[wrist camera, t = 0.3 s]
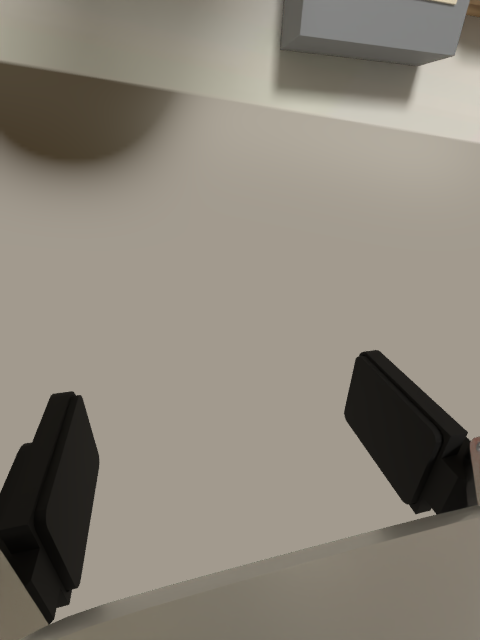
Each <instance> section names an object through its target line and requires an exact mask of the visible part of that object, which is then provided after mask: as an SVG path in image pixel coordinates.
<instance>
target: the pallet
mask: <svg viewBox="0 0 480 640" xmlns="http://www.w3.org/2000/svg"><path fill="white" fill-rule="evenodd" d="M466 15H470V16H476V17H480V0H470V2H469V5H468V9H467V12H466Z"/></svg>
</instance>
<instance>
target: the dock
mask: <svg viewBox="0 0 480 640" xmlns="http://www.w3.org/2000/svg"><path fill="white" fill-rule="evenodd" d="M469 2H470V0H284V8H283V21H282V33H281V46H280V49H281V50H290V51H298V52H306V53H315V54H323V55H331V56H340V57H348V58H356V59H364V60H373V61H381V62H389V63H398V64H406V65H414V66H420V65H423V64H427V63H430V62H434V61H438V60H441V59H445V58H448V57H452V56H454V55H455V52H456V48H457V45H458V41H459V37H460V34H461V30H462V27H463V23H464V20H465V16H466V12H467V9H468V5H469Z"/></svg>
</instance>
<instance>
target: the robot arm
mask: <svg viewBox="0 0 480 640" xmlns="http://www.w3.org/2000/svg"><path fill="white" fill-rule="evenodd" d="M344 414H345V418H346V421H347V422H348V424H349V425H350V427H351V428H352V429H353V431H354V432H355V434H356V435H357V437H358V438H359V439H360V441H361V442H362V444H363V445H364V447H365V448H366V450H367V451H368V452H369V454H370V455H371V457H372V458H373V460H374V461H375V462H376V464H377V465H378V467H379V468H380V470H381V471H382V472H383V474H384V475H385V477H386V478H387V480H388V481H389V482H390V484H391V485H392V487H393V488H394V490H395V491H396V492H397V494H398V495H399V497H400V498H401V500H402V501H403V502H404V503H406V504H409V505H410V507H411V508H412V509H413V511H414V512H415V514H418V513H422V512H426V511H430V510H431V508H432V509H433V510H434V512H435V513H436V514H437V515H433V516H429V517H425V518H421V519H417V520H414V521H410V522H406V523H402V524H399V525H394V526H390V527H386V528H383V529H379V530H375V531H371V532H368V533H363V534H360V535H356V536H352V537H348V538H344V539H340V540H337V541H333V542H329V543H325V544H322V545H318V546H314V547H310V548H307V549H303V550H299V551H295V552H291V553H288V554H284V555H280V556H276V557H273V558H269V559H265V560H261V561H257V562H254V563H250V564H246V565H243V566H239V567H235V568H232V569H228V570H224V571H221V572H217V573H213V574H210V575H206V576H202V577H198V578H195V579H191V580H187V581H184V582H180V583H176V584H173V585H169V586H166V587H162V588H159V589H155V590H152V591H148V592H145V593H141V594H138V595H135V596H131V597H128V598H124V599H121V600H117V601H114V602H110V603H107V604H104V605H101V606H98V607H95V608H92V609H89V610H86V611H83V612H80V613H77V614H75V615H71V616H68V617H66V618H64V619H62V620H59V621H57V622H55V623H52V624H50V623H51V622H52V621H53V620H54V617H55V612H56V608H58V607H62V606H66V605H69V603H70V598H71V592H72V589H75V588H78V586H79V584H80V580H81V574H82V568H83V562H84V556H85V550H86V544H87V537H88V531H89V525H90V519H91V513H92V507H93V501H94V494H95V488H96V482H97V476H98V470H99V454H98V451H97V447H96V444H95V440H94V437H93V433H92V430H91V426H90V423H89V419H88V416H87V412H86V409H85V405H84V402H83V398H82V396H81V395H77V396H76V395H75V394H74V392H64V393H57V394H52V395H51V397H50V399H49V402H48V404H47V407H46V409H45V412H44V414H43V417H42V419H41V422H40V424H39V427H38V429H37V432H36V434H35V437H34V439H33V442H32V443H26V444H23V446H21V448H20V449H19V451H18V453H17V455H16V458H15V460H14V463H13V465H12V467H11V469H10V472H9V474H8V476H7V479H6V481H5V483H4V486H3V488H2V490H1V493H0V640H480V437H476V438H474V439H473V440H472V441H469V439H468V438H467V437H466V436H467V433H468V432H467V431H466V430H465V429H463V427H461V426H460V425H459V424H458V423H457V422H456V421H455V420H454V419H453V418H451V416H450V415H448V414H447V413H446V412H445V411H444V410H443V409H442V408H441V407H440V406H439V405H437V404H436V403H435V402H434V401H433V400H432V399H431V398H430V397H429V396H428V395H427V394H426V393H424V392H423V391H422V390H421V389H420V388H419V387H418V386H417V385H416V384H415V383H414V382H413V381H411V380H410V379H409V378H408V377H407V376H406V375H405V374H404V373H403V372H402V371H400V370H399V369H398V368H397V367H396V366H395V365H394V364H393V363H392V362H391V361H389V359H387V358H386V357H385V356H384V355H383V354H382V353H381V352H380V351H378V350H374V351H366V352H362V353H361V354H360V355H359V357H357V358H356V360H355V365H354V370H353V374H352V379H351V383H350V388H349V392H348V397H347V401H346V406H345V411H344ZM49 624H50V625H49Z"/></svg>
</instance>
